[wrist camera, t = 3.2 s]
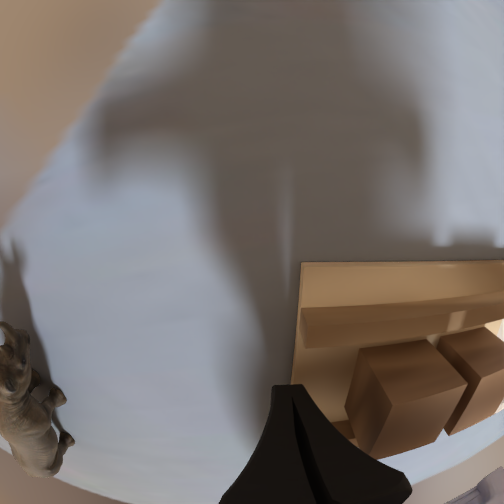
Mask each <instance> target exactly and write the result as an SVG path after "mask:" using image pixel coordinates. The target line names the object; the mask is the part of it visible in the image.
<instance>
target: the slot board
mask: <svg viewBox="0 0 504 504" xmlns="http://www.w3.org/2000/svg"><path fill="white" fill-rule="evenodd" d="M502 319H504V260H468V261H407V262H301V274H300V289H299V302H298V315H297V326H296V337H295V348H294V358H293V367H292V376H291V384H303V385H304V387H305V388H306V390H307V392H308V393H309V395H310V396H311V398H312V399H313V401H314V402H315V404H316V405H317V406H318V408H319V409H320V410H321V411H322V413H323V414H324V415H325V416H326V418H327V419H328V420H329V421H330V422H331V423H332V424H333V426H334V427H335V428H336V429H337V430H338V431H339V432H340V433H341V434H342V435H343V436H345V437H346V438H347V439H348V440H349V441H350V442H351V443H353V444H354V445H355V446H356V447H359V446H358V443H357V440H356V438H355V435H354V432H353V429H352V427H351V424H350V421H349V419H348V416H347V413H346V411H345V408H344V405H345V402H346V398H347V395H348V391H349V388H350V384H351V380H352V377H353V373H354V369H355V365H356V361H357V357H358V352H359V348H366V347H374V346H383V345H390V344H397V343H404V342H411V341H417V340H423V339H427V340H428V341H429V342H430V343H431V344H432V345H433V346H434V347H435V348H437V345H438V342H439V339H440V336H444V335H449V334H454V333H459V332H464V331H468V330H472V329H476V328H481V327H486V328H487V329H488V330H490V331H491V332H492V333H493V334H495V335H496V336H497V334H498V331H499V328H500V325H501V322H502Z"/></svg>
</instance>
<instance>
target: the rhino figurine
mask: <svg viewBox="0 0 504 504" xmlns="http://www.w3.org/2000/svg"><path fill="white" fill-rule="evenodd" d="M0 329H2V330H3V332H4V334H5V337H6V340H5V343H4V345H1V346H0V434H1V435H2V437H3V438H4V439H5V440H7V441H8V442H9V445H10V447H11V450H12V454H13V456H14V458H15V460H16V461H17V462H18V464H19V465H20V466H21V467H22V468H23V469H24V470H25V472H26V473H27V474H28V475H29V476H31V477H43V478H46V477H47V478H48V477H52V476H54V475H55V474H57V473H58V471H59V470H60V467H61V465H62V463H63V455H64V454H65V452H66V451H67V449H68V447H70V446H73V445H74V444H75V441H74V440H73V439H72V437H71V436H70V435H69V434H66V433H63V432H61V433H60V437H59V443H58V438H57V435H56V432H55V430H54V429H53V427H52V426H51V417H52V411H53V410H54V408H55V407H59V406H61V405H63V404H65V403H66V401H67V400H66V398H65V397H64V395H63V393H62V392H61V391H60V390H58V389H55V388H51V390H50V393H49V396H48V397H47V398H46V399H44V400H43V401H42V402H41V403H39V402H38V401H37V400H36V399H35V398H34V397H33V396H32V395H31V392H32V391H33V389H34V388H35V387H37V386H39V384H40V377H39V375H38V373H37V372H36V371H34V370H33V369H32V368H31V364H30V347H29V345H30V339H29V335H28V333H27V332H26V331H25V330H19V329H16V330H15V329H14V328H13V327H12V326H10V325H9V324H8V323H6V322H3V321H1V322H0Z"/></svg>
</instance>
